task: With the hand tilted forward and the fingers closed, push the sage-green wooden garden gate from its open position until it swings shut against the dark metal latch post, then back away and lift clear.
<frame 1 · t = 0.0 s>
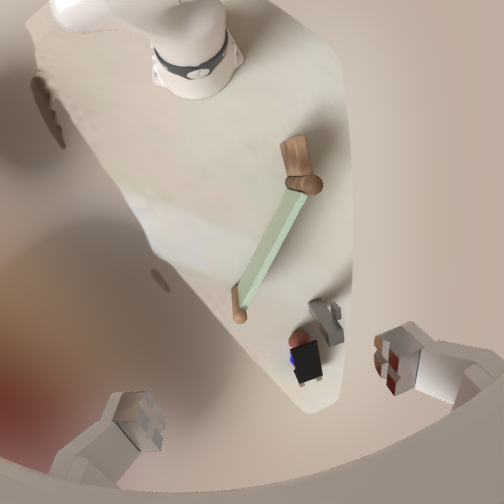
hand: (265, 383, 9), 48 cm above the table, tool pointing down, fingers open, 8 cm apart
wooden hinge block: (292, 182, 54), on the table
latch post: (315, 306, 62), on the table
gate: (265, 252, 51), point 7 cm above the table, hinge at -40.0°
figurine character: (301, 351, 66), on the table
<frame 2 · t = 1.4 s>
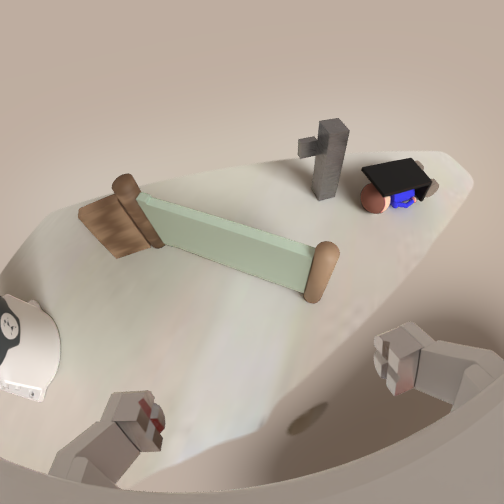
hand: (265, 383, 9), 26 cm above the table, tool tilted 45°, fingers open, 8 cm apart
wooden hinge block: (159, 240, 43), on the table
latch post: (323, 192, 45), on the table
gate: (231, 247, 34), point 6 cm above the table, hinge at -40.0°
figurine character: (393, 199, 44), on the table
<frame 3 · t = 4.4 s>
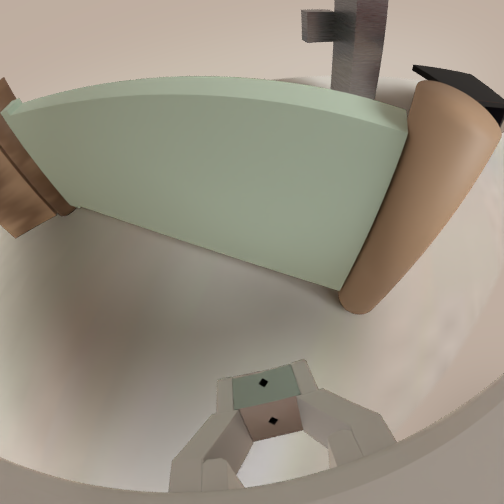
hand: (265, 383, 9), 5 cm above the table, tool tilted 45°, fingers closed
wooden hinge block: (69, 202, 22), on the table
latch post: (349, 114, 24), on the table
gate: (152, 175, 12), point 7 cm above the table, hinge at -40.0°
figurine character: (455, 134, 22), on the table
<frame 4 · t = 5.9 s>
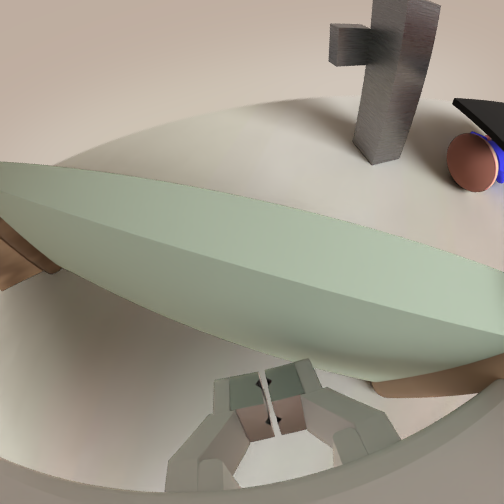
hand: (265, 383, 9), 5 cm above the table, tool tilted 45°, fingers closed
wooden hinge block: (55, 257, 19), on the table
latch post: (376, 149, 21), on the table
gate: (155, 278, 10), point 6 cm above the table, hinge at -38.1°, touching gripper
figurine character: (484, 170, 20), on the table
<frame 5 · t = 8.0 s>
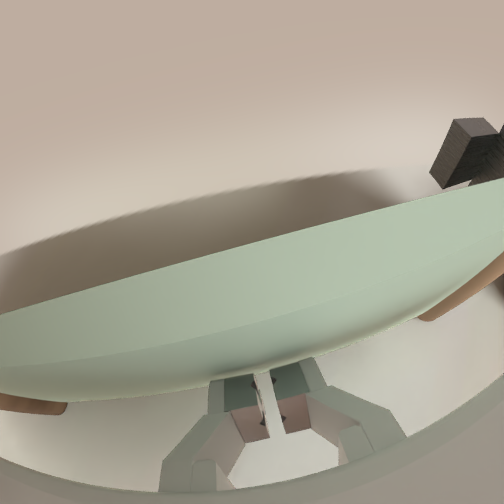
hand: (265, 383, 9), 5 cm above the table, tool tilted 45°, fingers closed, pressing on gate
wooden hinge block: (53, 394, 13), on the table
latch post: (442, 265, 16), on the table
gate: (228, 351, 8), point 7 cm above the table, hinge at -3.8°, touching gripper
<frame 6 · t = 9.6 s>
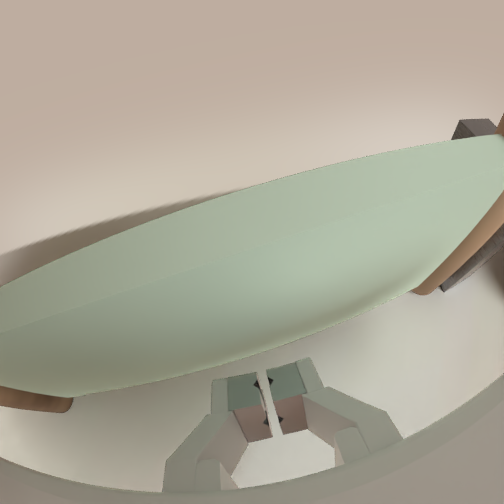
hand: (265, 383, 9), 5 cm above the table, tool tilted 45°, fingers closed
wooden hinge block: (58, 392, 14), on the table
latch post: (447, 264, 15), on the table
gate: (232, 318, 9), point 7 cm above the table, hinge at 0.1°
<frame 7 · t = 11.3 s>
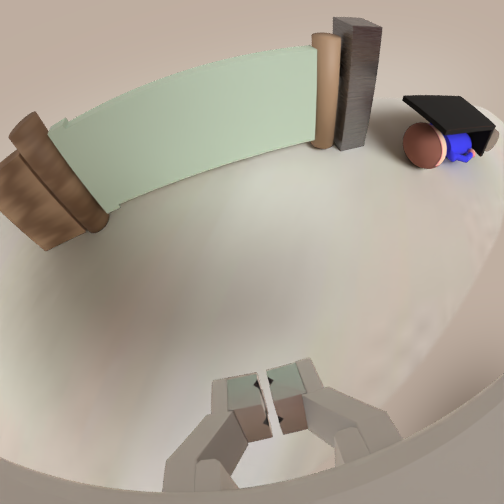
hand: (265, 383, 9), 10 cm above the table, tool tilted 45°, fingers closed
wooden hinge block: (97, 220, 26), on the table
latch post: (345, 140, 28), on the table
gate: (206, 121, 21), point 6 cm above the table, hinge at 0.1°
figurine character: (443, 154, 26), on the table
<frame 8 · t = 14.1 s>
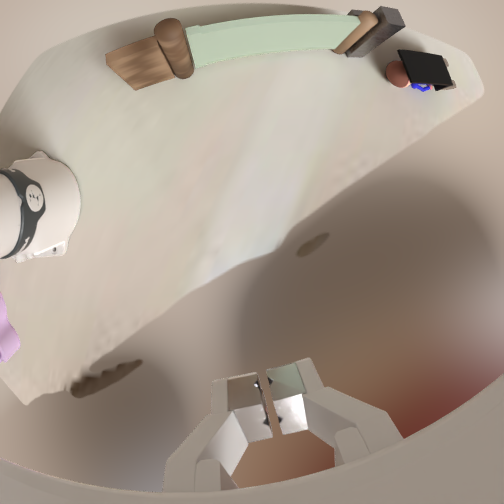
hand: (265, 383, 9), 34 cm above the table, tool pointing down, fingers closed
wooden hinge block: (184, 70, 35), on the table
latch post: (352, 49, 35), on the table
gate: (281, 35, 29), point 6 cm above the table, hinge at 0.1°
figurine character: (412, 77, 37), on the table
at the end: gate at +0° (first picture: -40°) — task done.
